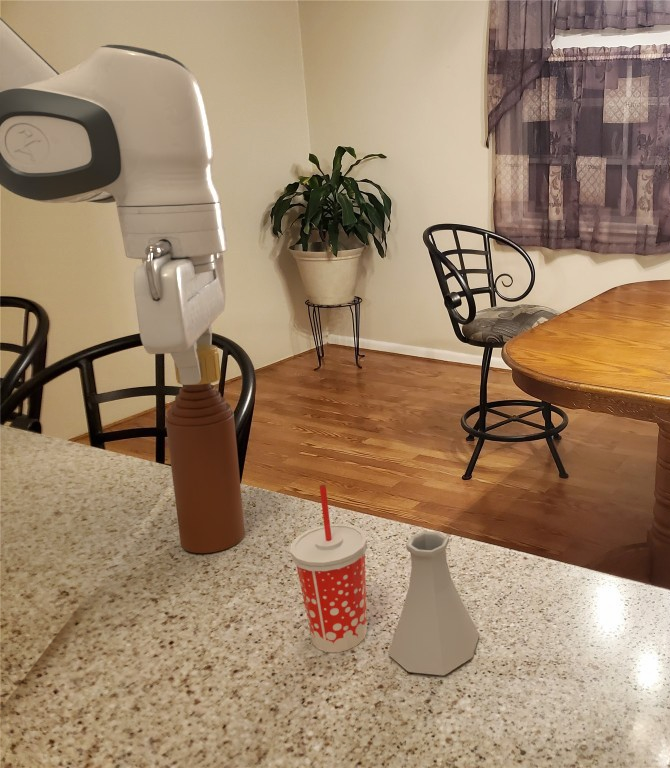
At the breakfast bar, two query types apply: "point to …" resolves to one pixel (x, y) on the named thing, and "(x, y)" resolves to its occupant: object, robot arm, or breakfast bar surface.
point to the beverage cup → (333, 582)
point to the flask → (432, 613)
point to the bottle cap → (206, 364)
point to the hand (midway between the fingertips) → (198, 375)
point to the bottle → (205, 469)
